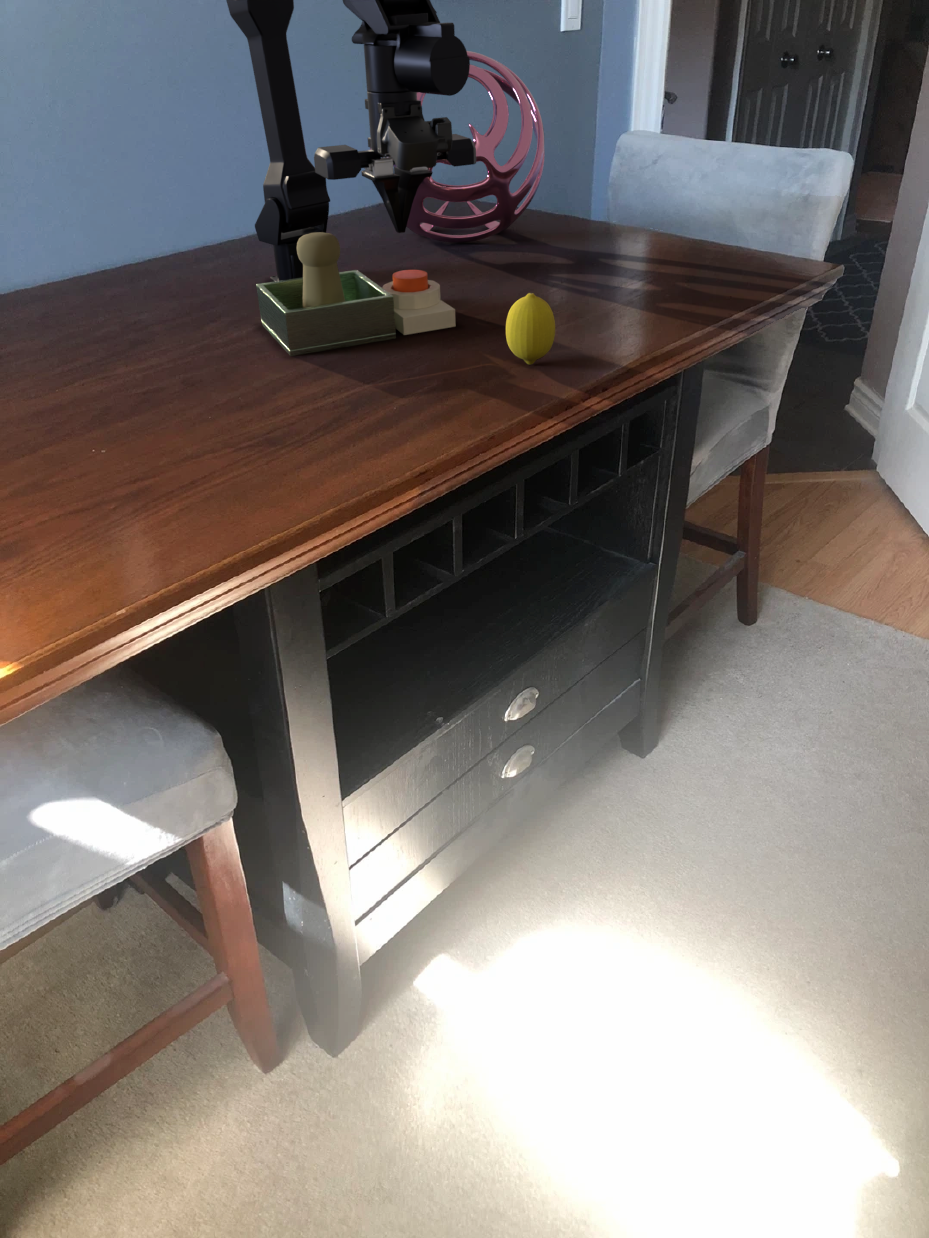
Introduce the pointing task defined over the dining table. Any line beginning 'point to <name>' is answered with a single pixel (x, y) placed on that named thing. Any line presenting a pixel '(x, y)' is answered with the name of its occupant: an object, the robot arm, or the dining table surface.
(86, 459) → the dining table surface
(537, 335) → the lemon
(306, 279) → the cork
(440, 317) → the control block
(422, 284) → the button
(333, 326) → the warming box
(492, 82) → the pink openwork sphere
